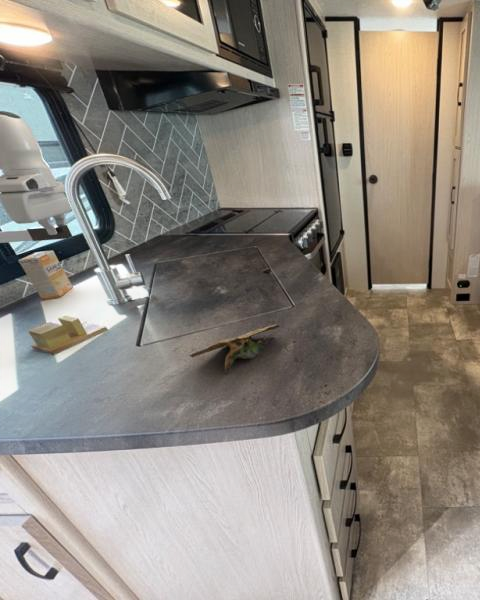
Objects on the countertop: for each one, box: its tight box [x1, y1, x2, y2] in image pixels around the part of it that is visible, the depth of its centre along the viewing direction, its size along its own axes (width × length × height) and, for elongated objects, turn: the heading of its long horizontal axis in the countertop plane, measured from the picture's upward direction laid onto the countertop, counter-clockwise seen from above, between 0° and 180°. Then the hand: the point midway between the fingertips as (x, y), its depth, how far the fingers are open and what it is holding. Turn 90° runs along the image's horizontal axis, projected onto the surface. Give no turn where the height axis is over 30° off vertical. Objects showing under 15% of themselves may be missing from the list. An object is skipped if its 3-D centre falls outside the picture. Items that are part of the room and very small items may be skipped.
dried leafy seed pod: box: [188, 324, 280, 375], centre depth 67 cm, size 18×14×8 cm
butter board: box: [27, 321, 108, 356], centre depth 75 cm, size 8×11×5 cm
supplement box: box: [18, 250, 73, 300], centre depth 97 cm, size 8×5×13 cm, turn 22°
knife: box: [0, 224, 73, 244], centre depth 87 cm, size 18×2×3 cm, turn 106°
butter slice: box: [58, 315, 86, 336], centre depth 76 cm, size 5×2×4 cm, turn 71°
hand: (58, 232), depth 89 cm, fingers closed on knife, 2 cm apart
